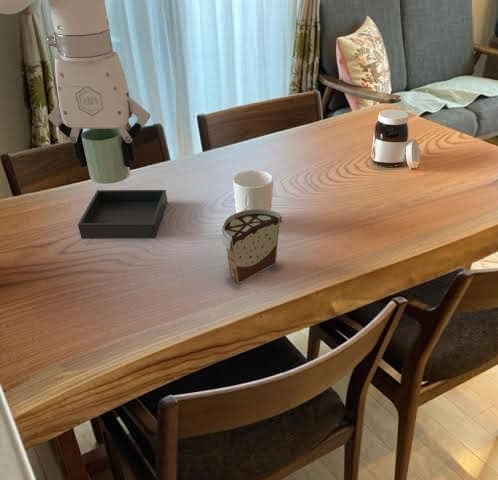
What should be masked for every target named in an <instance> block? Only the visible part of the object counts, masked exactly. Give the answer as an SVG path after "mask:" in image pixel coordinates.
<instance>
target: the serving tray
mask: <svg viewBox="0 0 498 480" xmlns="http://www.w3.org/2000/svg"><path fill="white" fill-rule="evenodd" d="M167 206H168V195H167V190H166V189H97V190H96V191H95V194H94V195H93V197H92V198H91V200H90V202H89V204H88V206H87V208H86V209H85V210H84V213H83V214H82V216H81V218H80V220H79V222H78V224H77V226H78V231H79V235H80V239H157V236H158V234H159V230H160V227H161V224H162V221H163V218H164V215H165V211H166V208H167Z"/></svg>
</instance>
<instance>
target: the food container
mask: <svg viewBox="0 0 498 480" xmlns="http://www.w3.org/2000/svg"><path fill="white" fill-rule="evenodd" d="M280 224H283V218H282V216H281V213H280V212H278V211H274V210H271V211H270V210H263V209H253V210H246V211H241V212H238V213H236V212H235V213H234V214H232V215H230V216H229V217H227V219H225V221H224V223H223V225H222V228H221V233H220V240H221V242H222V244H223V245H224V246H225V248H226V253H227V254H226V255H227V260H228V267H229V274H230V277H231V280H232V281H233V282H234V283H235V284H236V285H240V284H242V283H244V282H246V281H248V280H249V279H251V278H253V277H255V276H257V275H259V274H260V273H262V272H264V271H266V270H268V269H270V268H272V267H273V266H275V265H276V264H277V258H278V257H277V255H278V245H279V235H280Z"/></svg>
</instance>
